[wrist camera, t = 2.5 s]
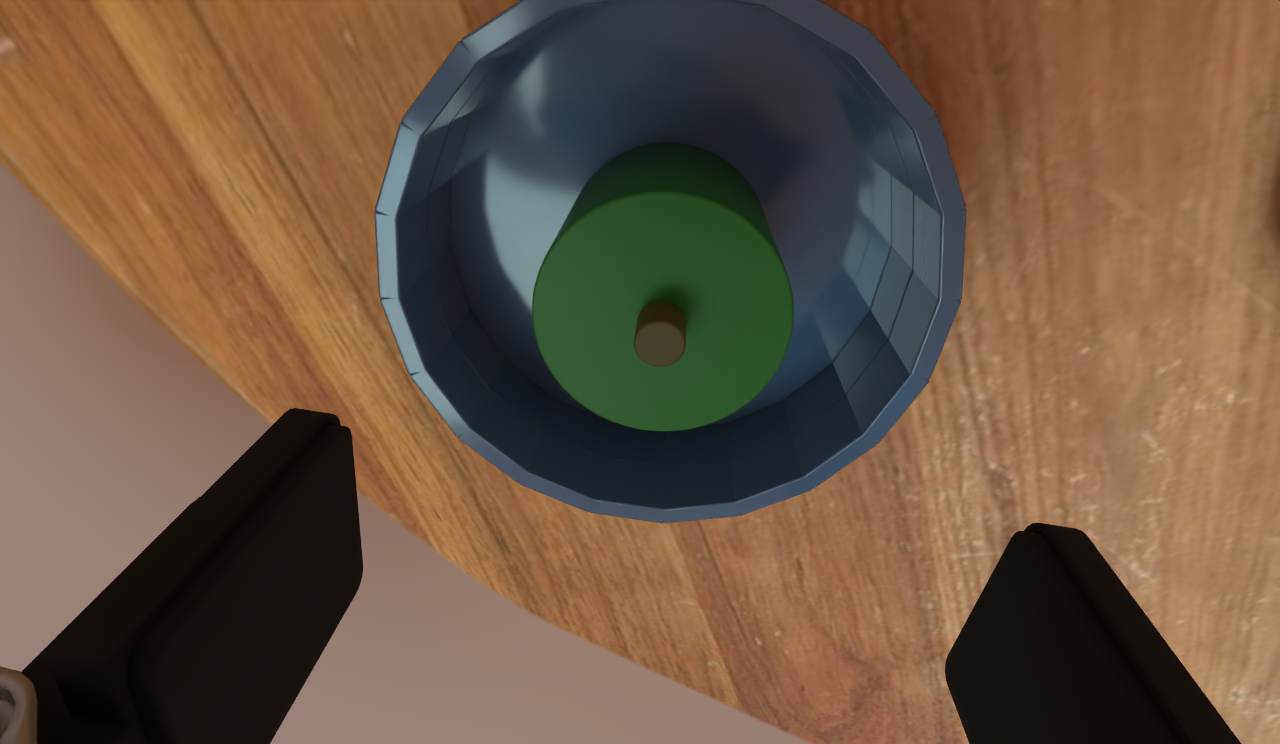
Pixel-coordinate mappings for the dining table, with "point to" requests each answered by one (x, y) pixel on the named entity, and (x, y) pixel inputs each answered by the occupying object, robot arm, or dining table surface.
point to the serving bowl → (745, 138)
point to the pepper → (664, 292)
